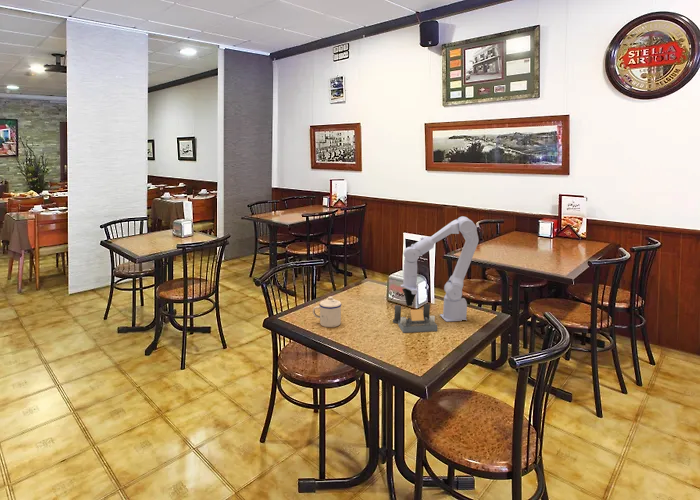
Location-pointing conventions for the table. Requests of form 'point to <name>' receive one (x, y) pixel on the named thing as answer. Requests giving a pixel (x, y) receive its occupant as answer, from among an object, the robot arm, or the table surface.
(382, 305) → the table surface
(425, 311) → the post
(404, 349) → the table surface
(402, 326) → the panel
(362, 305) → the table surface
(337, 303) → the teacup with lid
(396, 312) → the cord post
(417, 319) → the tan flat block
